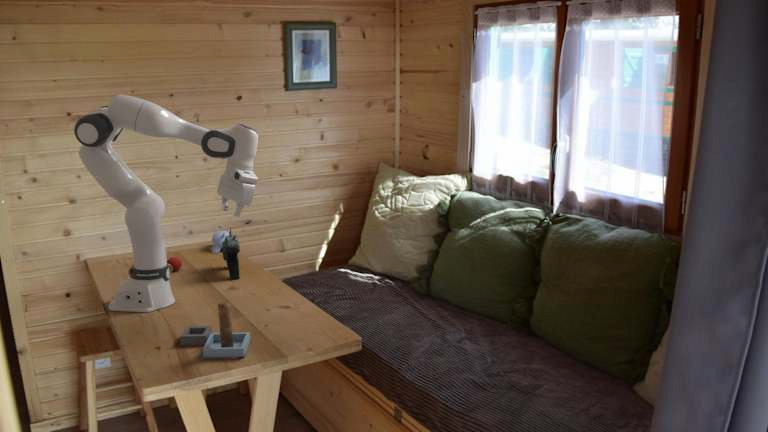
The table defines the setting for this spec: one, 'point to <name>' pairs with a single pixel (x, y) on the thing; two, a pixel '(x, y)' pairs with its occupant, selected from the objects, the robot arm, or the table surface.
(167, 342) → the table surface
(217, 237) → the hippopotamus toy
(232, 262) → the ceramic cat
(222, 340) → the dowel
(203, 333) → the socket block
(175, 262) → the kendama
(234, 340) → the tray
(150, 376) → the table surface
